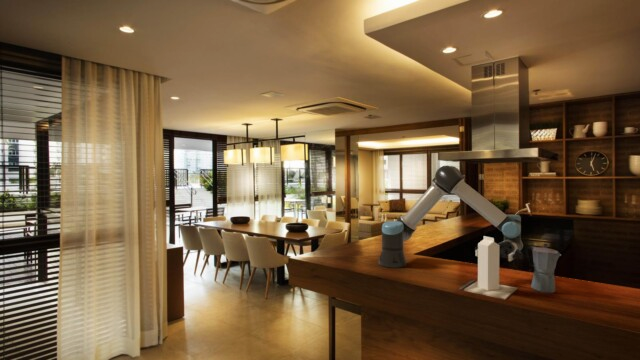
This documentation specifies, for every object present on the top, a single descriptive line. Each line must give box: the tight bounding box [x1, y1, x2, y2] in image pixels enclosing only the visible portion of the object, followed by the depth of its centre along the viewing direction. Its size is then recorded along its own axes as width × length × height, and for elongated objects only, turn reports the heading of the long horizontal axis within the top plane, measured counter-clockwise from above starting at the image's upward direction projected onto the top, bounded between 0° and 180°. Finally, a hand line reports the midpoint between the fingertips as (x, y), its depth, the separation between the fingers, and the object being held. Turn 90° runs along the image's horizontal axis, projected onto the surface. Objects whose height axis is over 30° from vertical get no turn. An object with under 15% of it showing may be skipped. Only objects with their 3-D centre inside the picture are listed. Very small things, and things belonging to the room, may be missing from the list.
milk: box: [477, 235, 500, 291], centre depth 150 cm, size 6×6×22 cm
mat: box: [457, 279, 518, 300], centre depth 151 cm, size 19×18×1 cm
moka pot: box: [525, 243, 562, 294], centre depth 151 cm, size 10×15×20 cm, turn 28°
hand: (492, 255), depth 153 cm, fingers open, 13 cm apart
